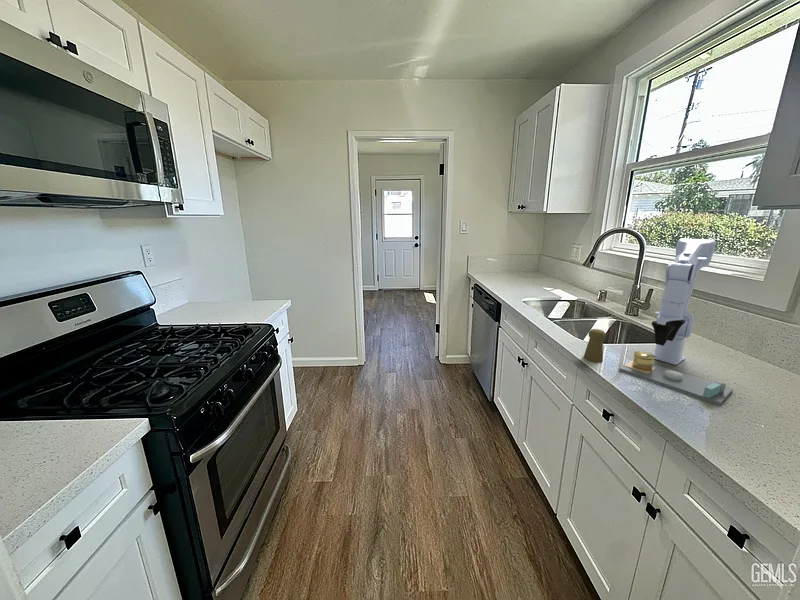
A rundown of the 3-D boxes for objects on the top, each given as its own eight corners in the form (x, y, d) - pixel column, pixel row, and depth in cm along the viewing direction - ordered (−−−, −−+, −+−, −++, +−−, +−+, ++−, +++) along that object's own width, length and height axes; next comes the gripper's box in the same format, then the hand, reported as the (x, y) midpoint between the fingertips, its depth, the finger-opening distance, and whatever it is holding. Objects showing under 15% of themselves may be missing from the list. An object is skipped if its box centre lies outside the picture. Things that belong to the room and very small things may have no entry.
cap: (636, 361, 113) (638, 349, 112) (655, 368, 109) (658, 355, 108) (628, 366, 110) (630, 353, 109) (648, 372, 106) (651, 360, 104)
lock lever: (714, 388, 96) (716, 380, 96) (725, 392, 94) (727, 383, 94) (700, 394, 93) (702, 386, 92) (711, 399, 91) (713, 390, 90)
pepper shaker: (601, 364, 114) (606, 334, 112) (582, 359, 118) (586, 330, 115) (603, 358, 119) (608, 329, 116) (584, 354, 123) (589, 326, 120)
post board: (635, 361, 117) (636, 354, 116) (732, 391, 97) (734, 383, 96) (618, 370, 110) (620, 363, 109) (719, 405, 90) (722, 397, 89)
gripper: (666, 296, 111) (657, 334, 114) (649, 301, 102) (640, 342, 106) (693, 300, 105) (683, 340, 108) (677, 306, 97) (667, 349, 100)
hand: (664, 342), depth 107 cm, fingers open, 7 cm apart
